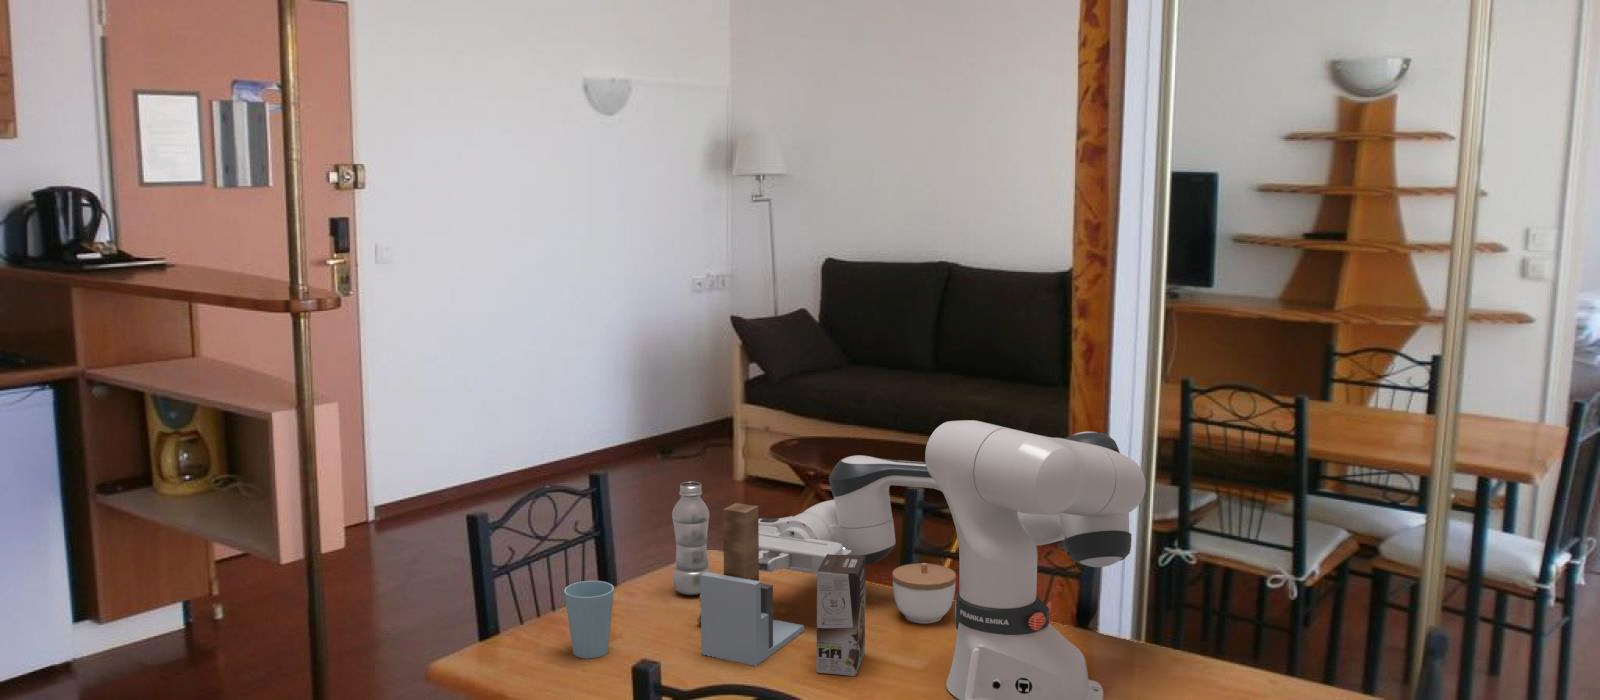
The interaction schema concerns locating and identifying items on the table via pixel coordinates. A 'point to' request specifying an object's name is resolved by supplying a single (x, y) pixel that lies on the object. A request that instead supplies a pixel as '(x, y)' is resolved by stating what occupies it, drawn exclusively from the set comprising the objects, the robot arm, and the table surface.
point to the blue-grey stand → (740, 620)
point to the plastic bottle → (690, 539)
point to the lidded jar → (923, 591)
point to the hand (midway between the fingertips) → (762, 566)
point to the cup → (589, 617)
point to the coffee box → (840, 614)
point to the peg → (741, 541)
